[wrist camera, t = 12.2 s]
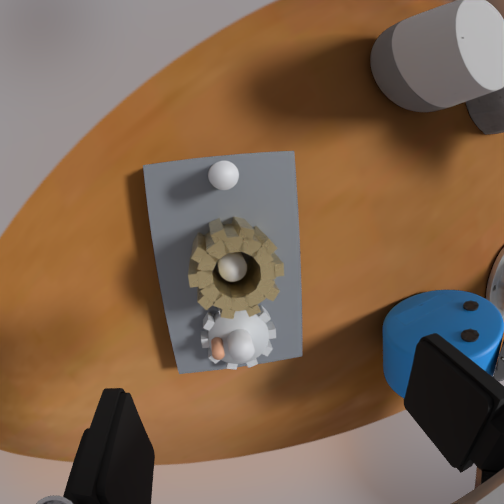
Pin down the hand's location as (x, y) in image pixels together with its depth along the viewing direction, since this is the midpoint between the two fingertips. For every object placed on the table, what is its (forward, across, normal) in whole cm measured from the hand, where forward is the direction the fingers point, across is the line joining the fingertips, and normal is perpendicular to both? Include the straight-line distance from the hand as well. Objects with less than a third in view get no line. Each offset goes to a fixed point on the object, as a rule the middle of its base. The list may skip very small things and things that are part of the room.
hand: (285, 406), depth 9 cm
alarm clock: (+20, -20, +10) cm, 30 cm away
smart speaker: (+20, -19, -17) cm, 32 cm away
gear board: (+20, 0, +1) cm, 20 cm away
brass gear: (+18, 0, 0) cm, 18 cm away
